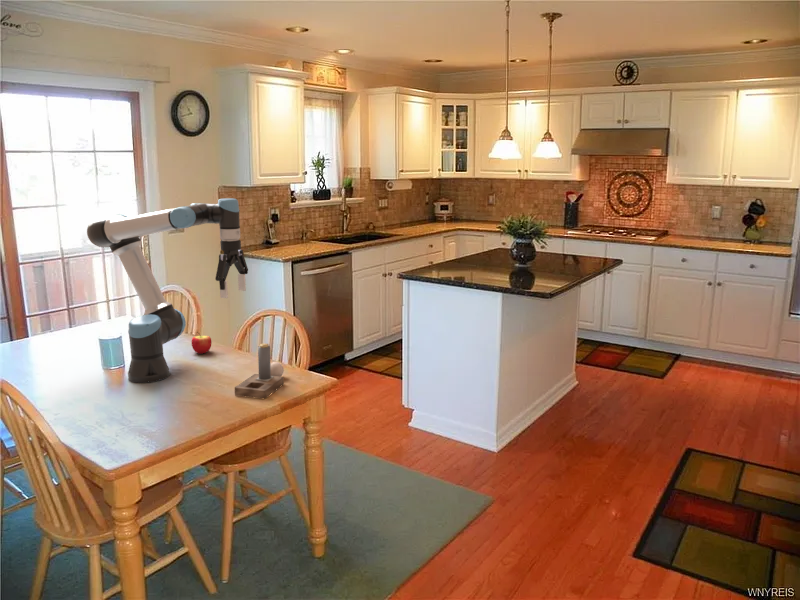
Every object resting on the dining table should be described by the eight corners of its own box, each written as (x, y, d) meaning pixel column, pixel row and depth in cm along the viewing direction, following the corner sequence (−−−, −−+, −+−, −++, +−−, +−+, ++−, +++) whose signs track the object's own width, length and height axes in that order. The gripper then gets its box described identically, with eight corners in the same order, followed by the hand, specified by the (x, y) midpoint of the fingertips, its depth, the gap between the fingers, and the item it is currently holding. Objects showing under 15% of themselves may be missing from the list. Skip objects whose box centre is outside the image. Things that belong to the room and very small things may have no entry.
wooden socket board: (235, 395, 231) (234, 386, 230) (255, 381, 245) (254, 373, 244) (265, 398, 228) (264, 390, 227) (283, 384, 242) (283, 376, 241)
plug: (256, 378, 238) (255, 345, 235) (262, 375, 242) (261, 342, 239) (267, 380, 237) (266, 346, 234) (272, 376, 241) (272, 343, 238)
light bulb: (255, 371, 241) (282, 359, 246) (251, 369, 247) (277, 358, 252) (262, 387, 242) (288, 375, 247) (258, 385, 248) (283, 373, 253)
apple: (188, 353, 278) (186, 330, 276) (205, 348, 284) (204, 327, 282) (198, 357, 273) (196, 334, 270) (215, 352, 279) (214, 330, 277)
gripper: (221, 244, 231) (225, 301, 235) (255, 235, 254) (257, 288, 259) (203, 243, 233) (207, 300, 237) (238, 235, 256) (241, 286, 261)
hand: (233, 294), depth 248 cm, fingers open, 13 cm apart
